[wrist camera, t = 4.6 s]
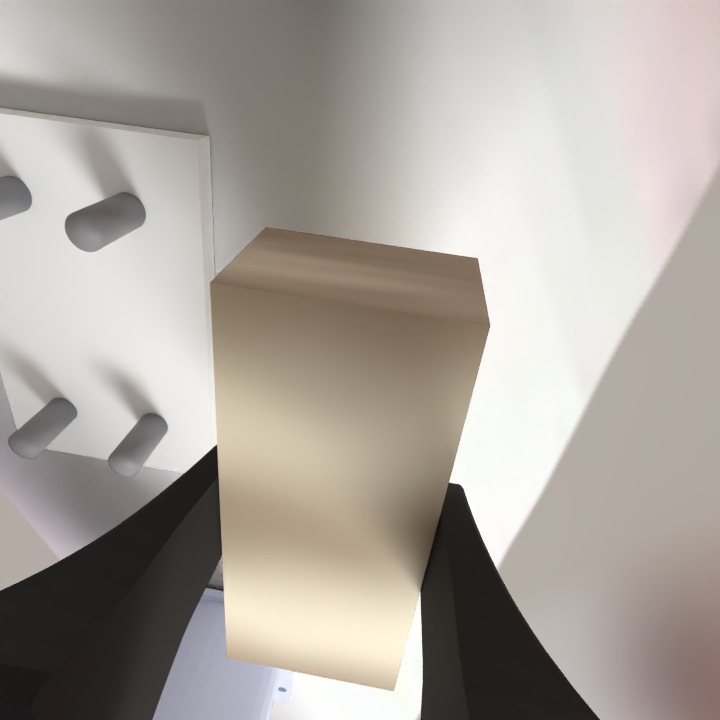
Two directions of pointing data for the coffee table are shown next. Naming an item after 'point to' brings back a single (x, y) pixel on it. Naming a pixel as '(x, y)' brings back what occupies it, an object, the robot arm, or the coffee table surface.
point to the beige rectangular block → (336, 442)
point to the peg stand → (106, 291)
